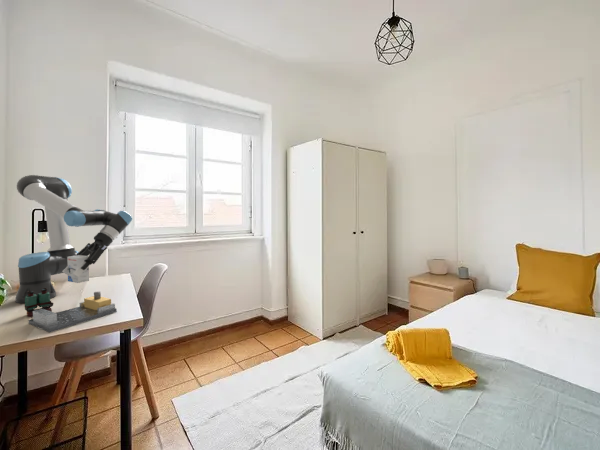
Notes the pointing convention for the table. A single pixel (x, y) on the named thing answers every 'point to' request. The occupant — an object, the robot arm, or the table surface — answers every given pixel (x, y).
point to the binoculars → (37, 301)
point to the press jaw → (96, 301)
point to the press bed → (67, 317)
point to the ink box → (73, 265)
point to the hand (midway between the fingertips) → (70, 274)
